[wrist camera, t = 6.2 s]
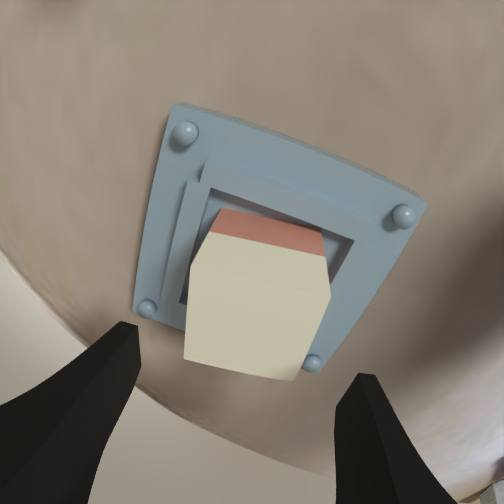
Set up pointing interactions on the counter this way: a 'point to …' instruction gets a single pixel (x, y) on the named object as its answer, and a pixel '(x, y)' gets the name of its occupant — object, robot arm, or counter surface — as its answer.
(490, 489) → the skincare box
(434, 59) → the counter surface
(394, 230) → the base plate
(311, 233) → the cream and red block
